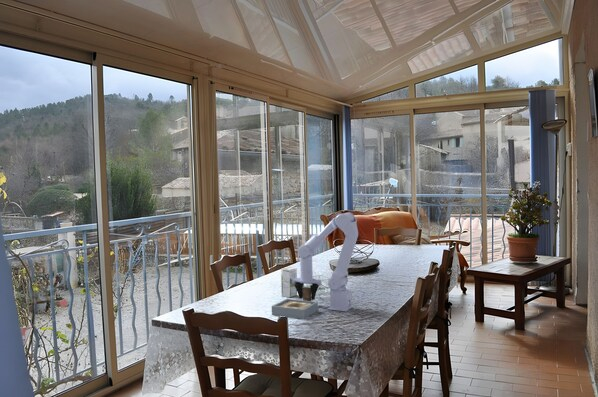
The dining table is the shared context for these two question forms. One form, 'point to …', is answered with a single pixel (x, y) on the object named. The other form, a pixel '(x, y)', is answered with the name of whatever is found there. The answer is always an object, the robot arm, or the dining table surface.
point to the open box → (294, 309)
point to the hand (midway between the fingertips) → (307, 298)
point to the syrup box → (288, 281)
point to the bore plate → (296, 305)
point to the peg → (307, 294)
